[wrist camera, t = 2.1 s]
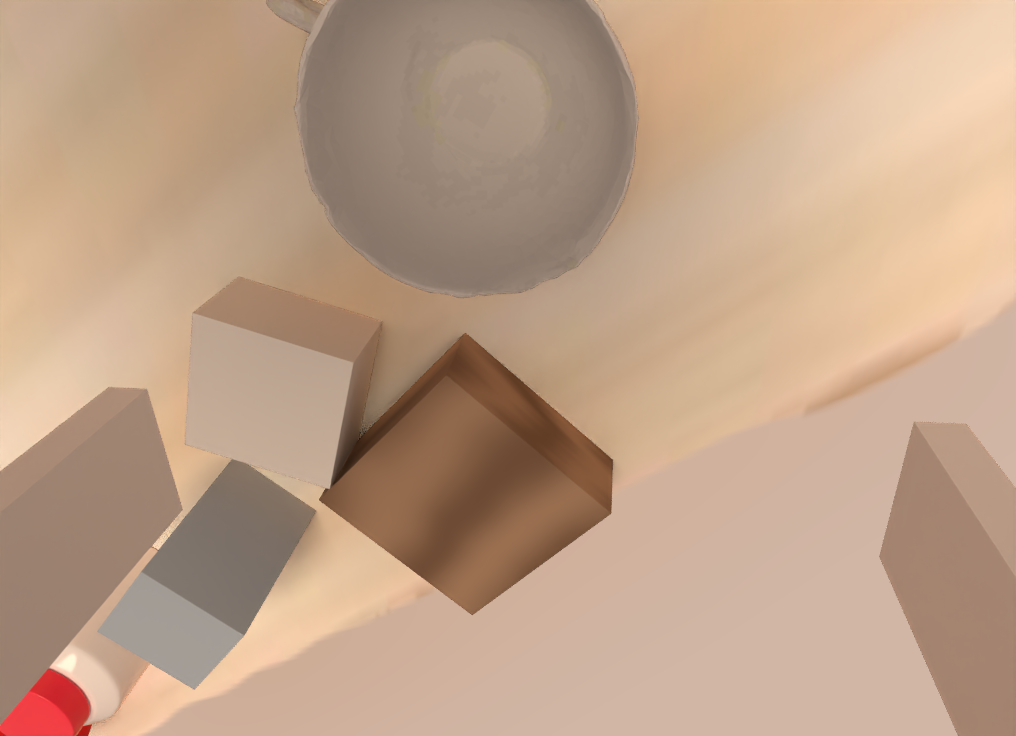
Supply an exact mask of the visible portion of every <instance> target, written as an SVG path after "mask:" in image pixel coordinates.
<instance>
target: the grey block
mask: <svg viewBox="0 0 1016 736" xmlns="http://www.w3.org/2000/svg"><path fill="white" fill-rule="evenodd" d="M381 326H382V321H380V320H377V319H374V318H370V317H367V316H364V315H361V314H357V313H354V312H351V311H348V310H345V309H341V308H338V307H335V306H332V305H328V304H325V303H322V302H319V301H316V300H312V299H309V298H306V297H303V296H299V295H296V294H293V293H290V292H287V291H283V290H280V289H277V288H274V287H270V286H267V285H264V284H261V283H258V282H254V281H251V280H248V279H245V278H241V277H238V278H236V279H235V280H234V281H233V282H231V283H230V284H229V285H227V286H226V287H225V288H224V289H222V290H221V291H220V292H219V293H217V294H216V295H215V296H213V297H212V298H211V299H210V300H208V301H207V302H206V303H205V304H203V305H202V306H201V307H199V308H198V309H197V310H196V311H194V312H193V313H192V330H191V347H190V364H189V381H188V398H187V415H186V432H185V445H188V446H191V447H195V448H198V449H201V450H204V451H208V452H211V453H214V454H217V455H221V456H224V457H227V458H230V459H234V460H237V461H240V462H243V463H247V464H250V465H253V466H256V467H260V468H263V469H266V470H269V471H272V472H276V473H279V474H282V475H285V476H289V477H292V478H295V479H298V480H302V481H305V482H308V483H311V484H315V485H318V486H321V487H324V488H328V489H330V487H331V486H332V484H333V482H334V481H335V479H336V477H337V475H338V474H339V472H340V470H341V468H342V467H343V465H344V463H345V461H346V460H347V458H348V456H349V454H350V453H351V451H352V449H353V447H354V446H355V444H356V442H357V440H358V438H359V433H360V428H361V423H362V418H363V413H364V409H365V404H366V399H367V394H368V389H369V384H370V379H371V375H372V370H373V365H374V360H375V355H376V350H377V345H378V341H379V336H380V331H381Z"/></svg>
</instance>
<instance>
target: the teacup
mask: <svg viewBox="0 0 1016 736" xmlns="http://www.w3.org/2000/svg"><path fill="white" fill-rule="evenodd" d="M266 3H267V6H268V7H269V8H270V9H271V10H272V11H273V12H274V13H275V14H276V15H277V16H279V17H280V18H282V19H283V20H285V21H287V22H289V23H291V24H293V25H294V26H296V27H298V28H300V29H302V30H304V31H306V32H308V33H310V34H309V36H308V38H307V41H306V44H305V46H304V49H303V52H302V55H301V60H300V65H299V73H298V90H297V100H296V104H295V107H294V110H295V114H296V118H297V123H298V129H299V135H300V141H301V146H302V150H303V154H304V159H305V171H306V174H307V176H308V179H309V183H310V186H311V188H312V191H313V192H314V194H315V195H316V196H317V198H318V200H319V202H320V203H321V204H322V205H323V206H324V207H325V209H326V210H325V213H326V216H327V218H328V220H329V222H330V223H331V225H332V226H333V227H334V228H335V230H336V231H337V232H338V233H339V234H340V235H341V236H342V238H343V239H344V240H345V241H346V242H347V243H348V244H349V245H351V246H352V247H353V248H354V249H355V250H356V251H357V252H359V253H360V254H361V255H362V256H363V257H364V258H366V259H367V260H368V261H369V262H370V263H371V264H373V265H374V266H375V267H377V268H378V269H379V270H381V271H382V272H384V273H385V274H387V275H389V276H390V277H392V278H394V279H396V280H398V281H400V282H402V283H405V284H407V285H410V286H412V287H415V288H418V289H420V290H424V291H427V292H430V293H440V294H445V295H452V296H454V297H458V298H467V297H473V296H477V295H482V296H486V295H493V294H504V293H521V292H524V291H526V290H529V289H532V288H534V287H535V286H537V285H538V284H540V283H541V282H543V281H547V280H550V279H554V278H557V277H559V276H560V275H562V274H564V273H565V272H567V271H569V270H571V269H574V268H576V267H577V266H578V265H579V264H580V263H581V262H582V261H583V259H584V258H585V257H586V256H588V255H589V254H590V253H591V252H592V251H593V249H594V248H595V247H596V246H597V244H598V243H599V242H600V240H601V238H602V236H603V235H604V233H605V232H606V230H607V228H608V227H609V225H610V224H611V222H612V221H613V219H614V218H615V216H616V214H617V212H618V210H619V208H620V206H621V204H622V202H623V200H624V198H625V195H626V191H627V188H628V185H629V181H630V178H631V174H632V170H633V166H634V160H635V148H636V135H637V127H638V119H639V117H638V107H637V97H636V87H635V82H634V79H633V75H632V72H631V70H630V67H629V64H628V61H627V58H626V55H625V53H624V50H623V48H622V46H621V44H620V42H619V40H618V39H617V37H616V35H615V33H614V32H613V30H612V28H611V27H610V25H609V24H608V22H607V21H606V19H605V17H604V14H603V12H602V10H601V9H600V8H599V6H598V5H597V4H596V2H595V1H594V0H329V1H328V2H327V4H326V5H322V4H320V3H317V2H315V1H313V0H266Z"/></svg>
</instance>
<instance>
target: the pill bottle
mask: <svg viewBox="0 0 1016 736" xmlns="http://www.w3.org/2000/svg"><path fill="white" fill-rule="evenodd" d="M157 551H158V550H156V549H154V548H153V547H151V548H150V549H149V550H148V551H147V552H146V553H145V555H144V556H143V557H142V558H141V559H140V561H139V562H138V563H137V564H136V565H135V566H134V568H133V569H132V570H131V571H130V572H129V574H128V575H127V576H126V577H125V578H124V579H123V581H122V582H121V583H120V584H119V585H118V587H117V588H116V589H115V590H114V591H113V593H112V594H111V595H110V596H109V597H108V598H107V600H106V601H105V602H104V603H103V604H102V606H101V607H100V608H99V609H98V610H97V611H96V613H95V614H94V615H93V616H92V617H91V619H90V620H89V621H88V622H87V623H86V624H85V626H84V627H83V628H82V629H81V630H80V632H79V633H78V634H77V635H76V636H75V637H74V639H73V640H72V641H71V642H70V643H69V645H68V646H67V647H66V648H65V649H64V650H63V652H62V653H61V654H60V655H59V656H58V658H57V659H56V660H55V661H54V662H53V663H52V665H51V666H50V667H49V668H48V669H47V671H46V672H45V673H44V674H43V675H42V676H41V678H40V679H39V680H38V681H37V682H36V684H35V685H34V686H33V687H32V688H31V689H30V691H29V692H28V693H27V694H26V695H25V697H24V698H23V699H22V700H21V701H20V702H19V704H18V705H17V706H16V707H15V708H14V710H13V711H12V712H11V713H10V714H9V715H8V717H7V718H6V719H5V720H4V721H3V723H2V724H1V725H0V731H1V732H2V733H3V734H5V735H6V736H76V735H77V734H78V732H79V731H80V730H81V728H82V727H83V726H86V725H91V724H95V723H99V722H103V721H105V720H107V719H108V718H110V717H111V716H112V715H113V714H114V713H115V712H117V710H118V709H119V708H120V706H121V705H122V703H123V702H124V700H125V699H126V697H127V696H128V695H129V693H130V692H131V690H132V689H133V687H134V686H135V684H136V683H137V682H138V680H139V679H140V677H141V676H142V674H143V673H144V671H145V670H146V669H147V667H148V666H149V664H150V663H149V662H147V661H146V660H144V659H142V658H140V657H139V656H137V655H135V654H134V653H132V652H130V651H129V650H127V649H125V648H124V647H122V646H120V645H119V644H117V643H115V642H114V641H112V640H110V639H108V638H107V637H105V636H103V635H102V634H100V633H98V632H97V631H98V629H99V628H100V627H101V625H102V624H103V623H104V621H105V620H106V619H107V617H108V616H109V615H110V613H111V612H112V610H113V609H114V608H115V606H116V605H117V604H118V602H119V601H120V600H121V598H122V597H123V596H124V594H125V593H126V591H127V590H128V589H129V587H130V586H131V585H132V583H133V582H134V581H135V579H136V578H137V576H138V575H139V574H140V572H141V571H142V570H143V569H144V567H145V566H146V565H147V564H148V562H149V561H150V560H151V559H152V558H153V556H154V555H155V554H156V553H157Z"/></svg>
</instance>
